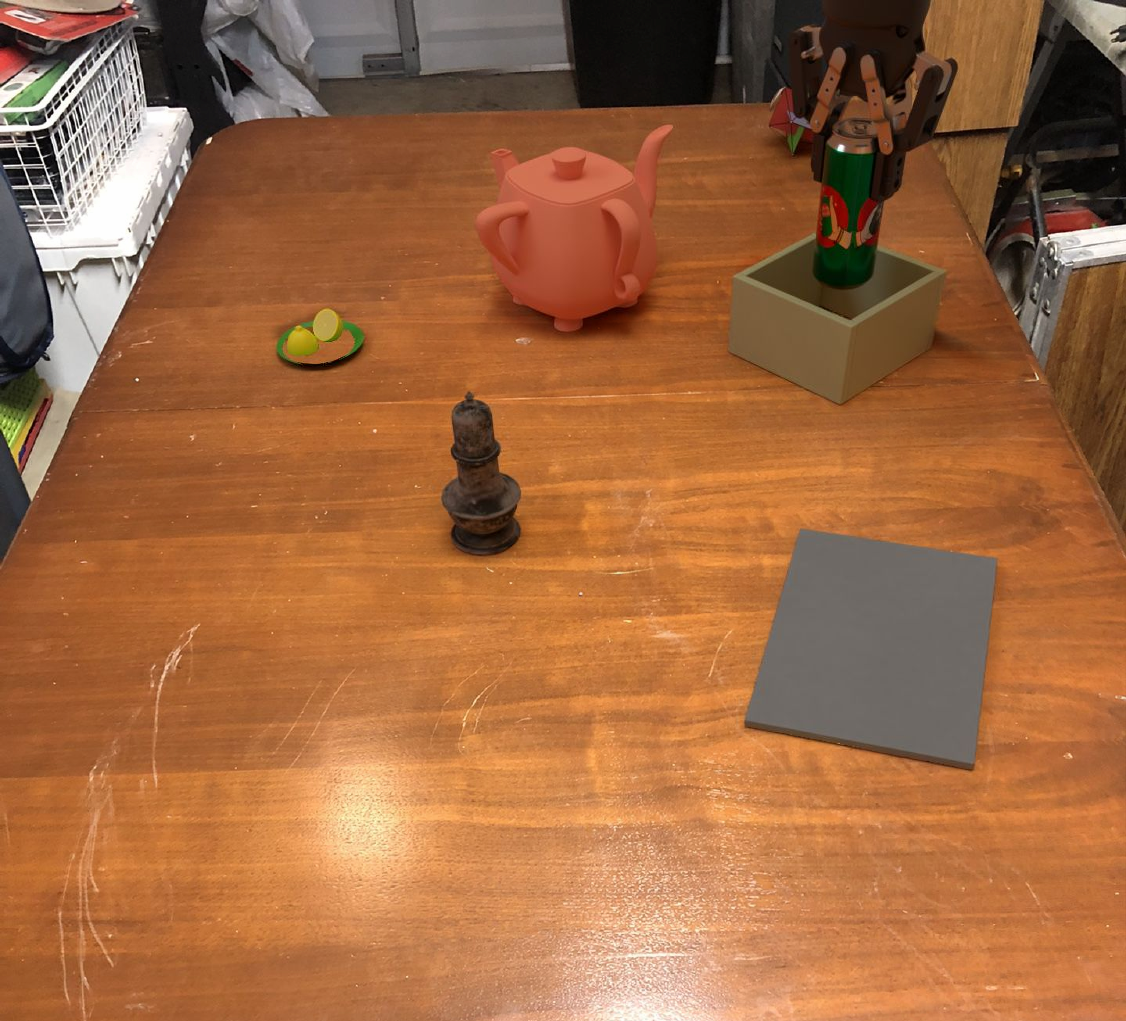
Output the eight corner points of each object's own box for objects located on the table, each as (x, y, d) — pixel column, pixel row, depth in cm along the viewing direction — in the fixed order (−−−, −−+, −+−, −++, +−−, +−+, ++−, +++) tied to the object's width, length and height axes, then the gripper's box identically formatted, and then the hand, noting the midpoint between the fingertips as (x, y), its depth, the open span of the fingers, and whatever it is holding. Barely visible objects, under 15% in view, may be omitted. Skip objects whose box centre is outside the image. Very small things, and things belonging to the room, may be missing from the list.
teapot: (500, 258, 118) (488, 115, 108) (669, 257, 116) (673, 112, 106) (482, 342, 107) (466, 192, 97) (667, 342, 106) (671, 190, 96)
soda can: (870, 264, 100) (892, 113, 91) (875, 293, 97) (897, 139, 88) (810, 264, 100) (825, 115, 92) (812, 293, 97) (828, 141, 88)
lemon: (318, 317, 112) (312, 289, 110) (382, 339, 108) (377, 310, 106) (259, 356, 107) (252, 327, 105) (324, 379, 104) (318, 350, 102)
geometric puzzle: (844, 112, 133) (808, 52, 128) (855, 136, 128) (818, 74, 124) (790, 155, 136) (752, 98, 132) (799, 179, 132) (760, 121, 127)
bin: (818, 299, 109) (827, 225, 104) (931, 347, 103) (947, 270, 98) (727, 351, 104) (732, 275, 99) (840, 405, 98) (851, 327, 92)
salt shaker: (482, 500, 91) (466, 359, 82) (540, 527, 89) (529, 385, 80) (430, 538, 88) (407, 397, 79) (488, 568, 86) (471, 425, 77)
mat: (799, 534, 87) (800, 528, 86) (995, 564, 83) (997, 558, 83) (743, 726, 74) (744, 720, 74) (972, 770, 71) (974, 764, 70)
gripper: (1007, -60, 78) (957, 198, 91) (836, -92, 86) (812, 151, 98) (939, -32, 75) (898, 232, 88) (768, -68, 83) (752, 180, 95)
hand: (853, 188), depth 93 cm, fingers closed on soda can, 5 cm apart
